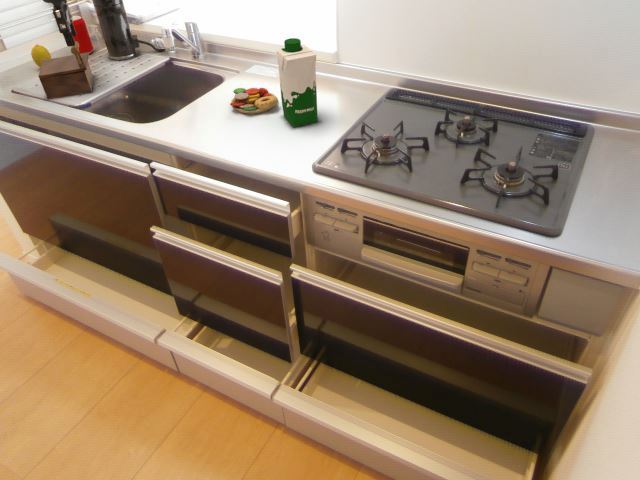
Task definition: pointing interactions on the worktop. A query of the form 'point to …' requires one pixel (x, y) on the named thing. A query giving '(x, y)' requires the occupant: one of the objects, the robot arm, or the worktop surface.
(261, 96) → the toy food set
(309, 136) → the worktop surface
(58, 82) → the chest
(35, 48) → the lemon
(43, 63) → the lid
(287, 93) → the soya milk
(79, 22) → the beverage can
